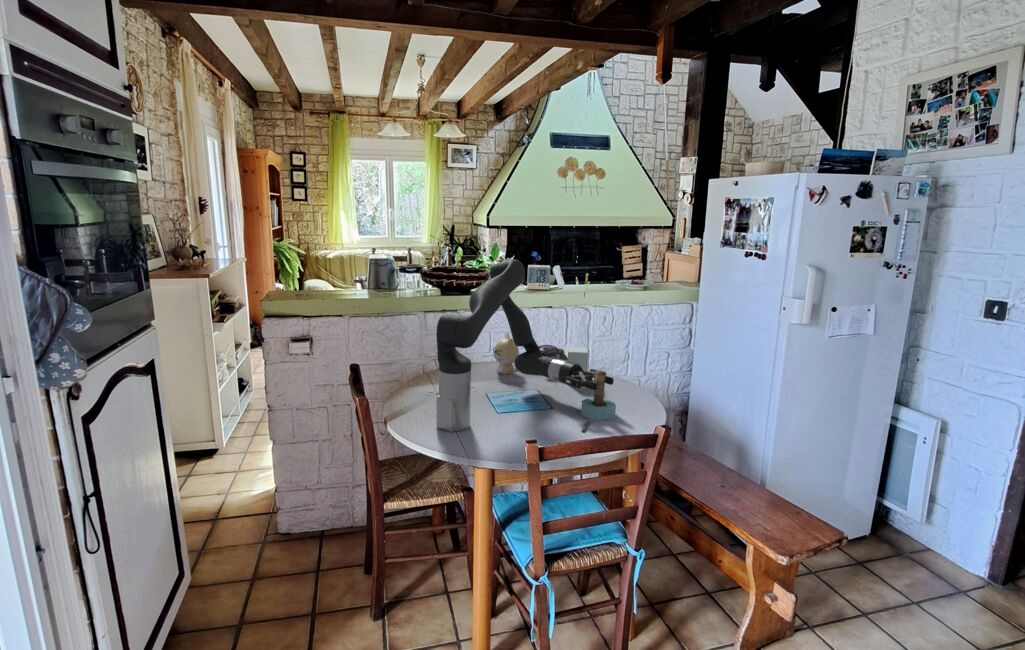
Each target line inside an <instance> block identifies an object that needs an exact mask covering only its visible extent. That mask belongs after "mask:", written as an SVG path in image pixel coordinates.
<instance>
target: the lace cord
mask: <svg viewBox="0 0 1025 650" xmlns="http://www.w3.org/2000/svg"><path fill="white" fill-rule="evenodd" d="M590 423H591V420H588V419H587V421H586V423H585V425H583V427H582V429H581V432H582V433H585V432H584V431H586V430H587V428H588V427H589V425H590ZM587 426H588V427H587Z"/></svg>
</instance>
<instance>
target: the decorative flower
mask: <svg viewBox="0 0 1025 650" xmlns="http://www.w3.org/2000/svg"><path fill="white" fill-rule="evenodd" d="M538 347H539V349H540V350H541V352H542V355H543V357H545V356H548V357H552V358H556V359H561V360H565V361H568V355H566V354H565V351H564V349H563V348H558V347H557V346H555V345H551V344H541V345H538Z"/></svg>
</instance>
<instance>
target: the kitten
mask: <svg viewBox="0 0 1025 650" xmlns="http://www.w3.org/2000/svg"><path fill="white" fill-rule="evenodd" d="M492 351H493V352H492V353H493V354H492V355H493V358H494V359H495V360H496V362H497V363H499V364H498V365H497V367H496V372H497V374H498V375H499V374H503V375H509V374H510V375H511V374H512V373H513V374H516V373H517V372H519V371H518V370H517V369H516V367H515V366H514V365H513V364H514V361H515V358H516V357H517V356H518V355H519V354H520V350H519V346H516V345H515V344H514V341H513V337H512V338H511V337H510V334H509V332H506V333H505V338H502V339H499V340H498V341H497V342H496V343H495V345H494V346H493V349H492Z"/></svg>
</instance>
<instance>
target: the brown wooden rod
mask: <svg viewBox="0 0 1025 650" xmlns="http://www.w3.org/2000/svg"><path fill="white" fill-rule="evenodd" d="M605 373H606V374H607V372H606V371H605V370H598V371H596V377H595V383H597V390H593V391H594V392H593V395H594V396H593V398H594V406H601V407H602V406H603V400H604V399H605V397H604V396H605V385H606V383H605Z"/></svg>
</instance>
